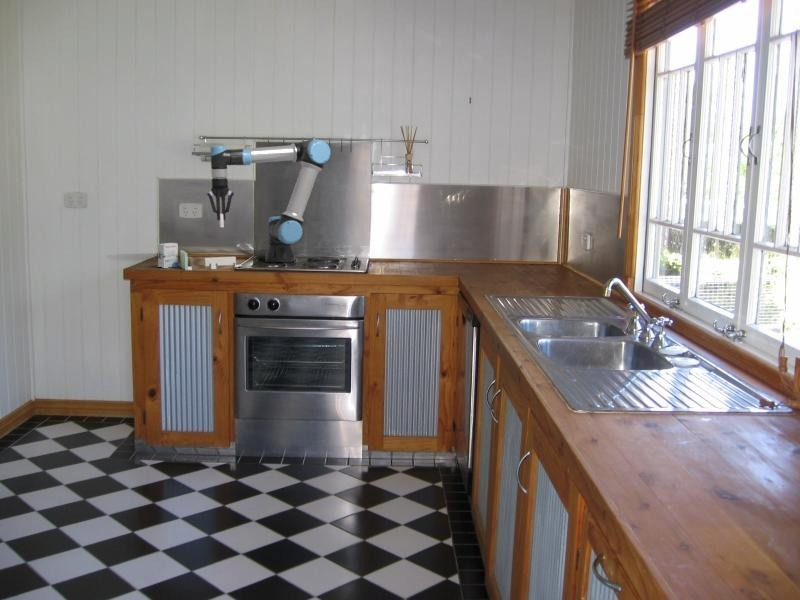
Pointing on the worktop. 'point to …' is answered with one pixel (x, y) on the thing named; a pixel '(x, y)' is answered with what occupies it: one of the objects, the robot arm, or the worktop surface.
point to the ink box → (168, 255)
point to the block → (196, 262)
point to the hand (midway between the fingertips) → (221, 227)
